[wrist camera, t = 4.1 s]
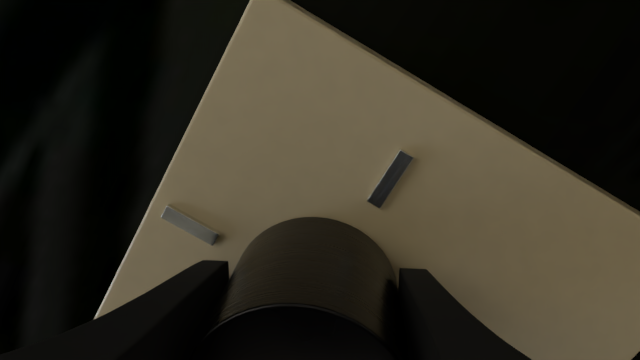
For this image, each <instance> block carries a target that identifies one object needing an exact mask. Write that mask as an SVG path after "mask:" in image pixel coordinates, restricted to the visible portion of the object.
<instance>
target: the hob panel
mask: <svg viewBox="0 0 640 360" xmlns="http://www.w3.org/2000/svg"><path fill="white" fill-rule="evenodd" d="M301 217H322V218H329V219H333V220H338V221H340V222H343V223H346V224H349V225H351V226H353V227H355V228H357V229H359V230H360V231H362V232H363V233H364V234H366V235H367V236H369V237H370V238H371V239H372V240H373V241H374V242H375V243H376V244H377V245H378V246H379V247H380V248H381V249H382V250H383V252H384V253H385V255H386V256H387V258H388V259H389V262H390V264H391V266H392V268H393V271H394V274H395V277H396V282H397V288H398V286H399V270H400V268H412V269H427V270H428V271H429V272H430V273H431V274H432V275H433V276H434V277H435V279H436V280H437V281H438V282H439V283H440V284H441V285H442V286H443V287H444V288H445V289H446V290H447V291H448V292H449V293H450V294H451V295H452V296H453V297H454V298H455V299H456V300H457V301H458V302H459V303H460V304H461V305H462V306H463V307H465V308H466V309H467V310H468V311H469V312H470V313H471V314H472V315H473V316H475V317H476V318H477V319H478V320H479V321H480V322H482V323H483V324H484V325H485V326H486V327H488V328H489V329H490V330H491V331H493V332H494V333H495V334H496V335H497V336H499V337H500V338H501V339H503V340H504V341H505V342H507V343H508V344H510V345H511V346H513V347H514V348H515V349H517V350H518V351H520V352H521V353H523V354H524V355H526V356H527V357H529V358H530V359H532V360H631V359H632V358H633V357H634V356H635V355H636V354H637V353H638V352H639V351H640V212H639V211H638V210H636V209H634V208H633V207H631V206H630V205H628V204H626V203H625V202H623V201H621V200H620V199H618V198H616V197H615V196H613V195H611V194H610V193H608V192H606V191H605V190H603V189H601V188H600V187H598V186H596V185H595V184H593V183H591V182H590V181H588V180H587V179H585V178H583V177H582V176H580V175H578V174H577V173H575V172H573V171H572V170H570V169H568V168H567V167H565V166H563V165H562V164H560V163H558V162H557V161H555V160H553V159H552V158H550V157H548V156H547V155H545V154H543V153H542V152H540V151H539V150H537V149H535V148H534V147H532V146H530V145H529V144H527V143H525V142H524V141H522V140H520V139H519V138H517V137H515V136H514V135H512V134H510V133H509V132H507V131H505V130H504V129H502V128H500V127H499V126H497V125H495V124H494V123H492V122H491V121H489V120H487V119H486V118H484V117H482V116H481V115H479V114H477V113H476V112H474V111H472V110H471V109H469V108H467V107H466V106H464V105H462V104H461V103H459V102H457V101H456V100H454V99H452V98H451V97H449V96H447V95H446V94H444V93H443V92H441V91H439V90H438V89H436V88H434V87H433V86H431V85H429V84H428V83H426V82H424V81H423V80H421V79H419V78H418V77H416V76H414V75H413V74H411V73H409V72H408V71H406V70H404V69H403V68H401V67H399V66H398V65H396V64H395V63H393V62H391V61H390V60H388V59H386V58H385V57H383V56H381V55H380V54H378V53H376V52H375V51H373V50H371V49H370V48H368V47H366V46H365V45H363V44H361V43H360V42H358V41H356V40H355V39H353V38H352V37H350V36H348V35H347V34H345V33H343V32H342V31H340V30H338V29H337V28H335V27H333V26H332V25H330V24H328V23H327V22H325V21H323V20H322V19H320V18H318V17H317V16H315V15H313V14H312V13H310V12H308V11H307V10H305V9H304V8H302V7H300V6H299V5H297V4H295V3H294V2H292V1H290V0H250V2H249V4H248V6H247V8H246V10H245V12H244V14H243V16H242V18H241V20H240V22H239V24H238V26H237V28H236V30H235V32H234V34H233V36H232V38H231V40H230V42H229V44H228V46H227V48H226V51H225V53H224V55H223V57H222V59H221V61H220V63H219V65H218V67H217V69H216V71H215V73H214V75H213V77H212V79H211V81H210V83H209V85H208V87H207V89H206V91H205V93H204V95H203V97H202V99H201V102H200V104H199V106H198V108H197V110H196V112H195V114H194V116H193V118H192V120H191V122H190V124H189V126H188V128H187V130H186V132H185V134H184V136H183V138H182V140H181V142H180V144H179V146H178V148H177V150H176V152H175V155H174V157H173V159H172V161H171V163H170V165H169V167H168V169H167V171H166V173H165V175H164V177H163V179H162V181H161V183H160V185H159V187H158V189H157V191H156V193H155V195H154V197H153V199H152V201H151V203H150V206H149V208H148V210H147V212H146V214H145V216H144V218H143V220H142V222H141V224H140V226H139V228H138V230H137V232H136V234H135V236H134V238H133V240H132V242H131V244H130V246H129V248H128V250H127V252H126V254H125V257H124V259H123V261H122V263H121V265H120V267H119V269H118V271H117V273H116V275H115V277H114V279H113V281H112V283H111V285H110V287H109V289H108V291H107V293H106V295H105V297H104V299H103V301H102V303H101V305H100V308H99V310H98V312H97V314H96V316H95V318H94V319H96V318H98V317H100V316H102V315H105V314H107V313H109V312H111V311H112V310H114V309H116V308H118V307H120V306H122V305H124V304H126V303H127V302H129V301H131V300H133V299H135V298H137V297H139V296H141V295H142V294H144V293H146V292H148V291H149V290H151V289H153V288H154V287H156V286H158V285H160V284H161V283H163V282H165V281H166V280H168V279H170V278H171V277H173V276H175V275H176V274H178V273H180V272H181V271H183V270H185V269H187V268H188V267H190V266H192V265H194V264H196V263H198V262H200V261H202V260H217V261H228V265H229V279H230V277H231V275H232V273H233V271H234V269H235V267H236V265H237V263H238V261H239V259H240V257H241V255H242V254H243V252H244V251H245V249H246V248H247V246H248V245H249V244H250V243H251V242H252V241H253V240H254V239H255V238H256V237H257V236H258V235H259V234H261V233H262V232H263V231H265V230H266V229H268V228H270V227H271V226H273V225H276V224H278V223H280V222H283V221H287V220H290V219H295V218H301Z"/></svg>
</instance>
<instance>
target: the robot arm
mask: <svg viewBox="0 0 640 360" xmlns="http://www.w3.org/2000/svg"><path fill="white" fill-rule="evenodd" d="M228 281H229V265H228V261H217V260H202V261H200V262H198V263H196V264H194V265H192V266H190V267H188V268H187V269H185V270H183V271H181V272H180V273H178V274H176V275H175V276H173V277H171V278H170V279H168V280H166V281H165V282H163V283H161V284H160V285H158V286H156V287H154V288H153V289H151V290H149V291H148V292H146V293H144V294H142V295H141V296H139V297H137V298H135V299H133V300H131V301H129V302H127V303H126V304H124V305H122V306H120V307H118V308H116V309H114V310H112V311H111V312H109V313H107V314H105V315H102V316H100V317H98V318H96V319H94V320H92V321H90V322H87V323H85V324H83V325H80V326H78V327H76V328H73V329H71V330H69V331H66V332H64V333H61V334H59V335H56V336H54V337H51V338H48V339H45V340H42V341H39V342H36V343H34V344H31V345H28V346H25V347H22V348H19V349H16V350H14V351H11V352H8V353H4V354H1V355H0V360H188V358H189V356H190V354H191V352H192V350H193V348H194V346H195V345H196V343H197V341H198V339H199V337H200V335H201V333H202V331H203V329H204V327H205V325H206V323H207V321H208V319H209V317H210V316H211V314H212V312H213V310H214V308H215V306H216V304H217V302H218V300H219V298H220V296H221V294H222V292H223V290H224V288H225V286H226V285H227V283H228ZM398 295H399V302H400V309H401V316H402V323H403V329H404V336H405V343H406V350H407V356H408V360H532V359H530V358H529V357H527V356H526V355H524V354H523V353H521V352H520V351H518V350H517V349H515V348H514V347H513V346H511V345H510V344H508V343H507V342H505V341H504V340H503V339H501V338H500V337H499V336H497V335H496V334H495V333H494V332H493V331H491V330H490V329H489V328H488V327H486V326H485V325H484V324H483V323H482V322H480V321H479V320H478V319H477V318H476V317H475V316H473V315H472V314H471V313H470V312H469V311H468V310H467V309H466V308H465V307H463V306H462V305H461V304H460V303H459V302H458V301H457V300H456V299H455V298H454V297H453V296H452V295H451V294H450V293H449V292H448V291H447V290H446V289H445V288H444V287H443V286H442V285H441V284H440V283H439V282H438V281H437V280H436V279H435V277H434V276H433V275H432V274H431V273H430V272H429V271H428V270H427V269H412V268H400V270H399V286H398Z"/></svg>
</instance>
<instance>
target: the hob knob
mask: <svg viewBox="0 0 640 360" xmlns="http://www.w3.org/2000/svg"><path fill="white" fill-rule="evenodd" d="M188 360H408V356H407V350H406V343H405V336H404V329H403V323H402V316H401V309H400V302H399V295H398V288H397V282H396V277H395V274H394V271H393V268H392V266H391V264H390V262H389V259H388V258H387V256H386V255H385V253H384V252H383V250H382V249H381V248H380V247H379V246H378V245H377V244H376V243H375V242H374V241H373V240H372V239H371V238H370V237H369V236H367V235H366V234H364V233H363V232H362V231H360V230H359V229H357V228H355V227H353V226H351V225H349V224H346V223H343V222H340V221H338V220H333V219H329V218H322V217H301V218H295V219H290V220H287V221H283V222H280V223H278V224H276V225H273V226H271V227H270V228H268V229H266V230H265V231H263V232H262V233H261V234H259V235H258V236H257V237H256V238H255V239H254V240H253V241H252V242H251V243H250V244H249V245H248V246H247V248H246V249H245V251H244V252H243V254H242V255H241V257H240V259H239V261H238V263H237V265H236V267H235V269H234V271H233V273H232V275H231V277H230V279H229V281H228V283H227V285H226V286H225V288H224V290H223V292H222V294H221V296H220V298H219V300H218V302H217V304H216V306H215V308H214V310H213V312H212V314H211V316H210V317H209V319H208V321H207V323H206V325H205V327H204V329H203V331H202V333H201V335H200V337H199V339H198V341H197V343H196V345H195V346H194V348H193V350H192V352H191V354H190V356H189V358H188Z"/></svg>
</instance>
